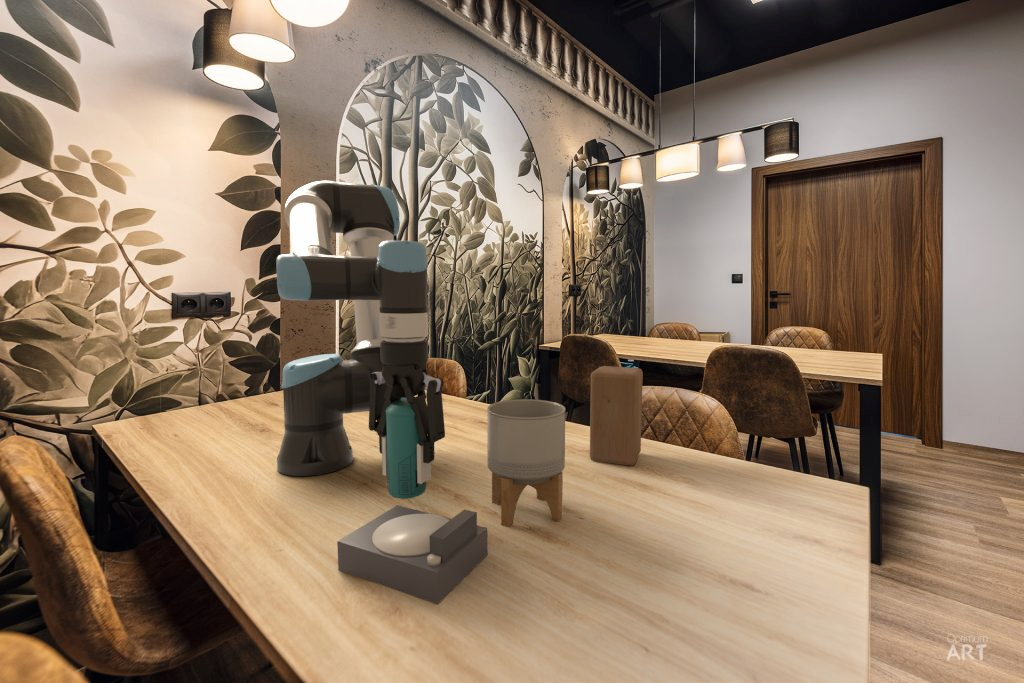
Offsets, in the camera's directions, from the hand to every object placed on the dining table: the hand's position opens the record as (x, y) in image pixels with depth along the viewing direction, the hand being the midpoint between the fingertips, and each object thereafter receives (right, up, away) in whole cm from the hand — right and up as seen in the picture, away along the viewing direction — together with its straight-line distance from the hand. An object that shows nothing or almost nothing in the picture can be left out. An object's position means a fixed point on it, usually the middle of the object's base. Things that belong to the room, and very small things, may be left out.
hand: (406, 476), depth 79 cm
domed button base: (+4, -8, -14) cm, 17 cm away
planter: (+20, -7, +2) cm, 21 cm away
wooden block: (+41, -4, +28) cm, 50 cm away
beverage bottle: (0, -4, +1) cm, 4 cm away
